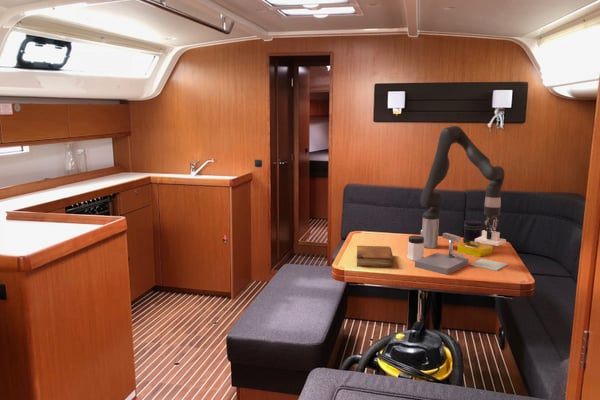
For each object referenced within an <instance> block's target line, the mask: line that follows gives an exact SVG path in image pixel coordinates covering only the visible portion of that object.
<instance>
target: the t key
mask: <svg viewBox="0 0 600 400" xmlns="http://www.w3.org/2000/svg"><path fill="white" fill-rule="evenodd" d="M442 238H443V239H444V240H445V239H446V240H448V254H447V255H449V256H452V255H453V256H457V257H461V258H465V254H464V255H463V254H462V253H459V252H455V251H454V248H453V247H454V242H455V243H458V242H459V243H460V242H461V236H458V235H456V234H451V233H448V232H442Z"/></svg>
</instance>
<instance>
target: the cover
mask: <svg viewBox="0 0 600 400" xmlns="http://www.w3.org/2000/svg"><path fill="white" fill-rule="evenodd" d="M500 235H501V231H495V232H494V231H492V235H491V239H487V232H486V231H485V229H484V230H481V235H480V237H478V238H476V239H475V242H479V243H482V244H487V245H491V246H496V247H499V246H501V245H503V244H505V243H507V239H505V238H500Z"/></svg>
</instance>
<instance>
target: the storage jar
mask: <svg viewBox="0 0 600 400" xmlns="http://www.w3.org/2000/svg"><path fill="white" fill-rule="evenodd" d="M463 222H464V223H463V239H462V241H463V242H462V243H466V242H469V241H474V242H475V239H476V238H478V237H481V233H482V221H481V220H479V219H478V220H477V219H465V220H464V221H463ZM477 243H479V242H477Z"/></svg>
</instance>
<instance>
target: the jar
mask: <svg viewBox="0 0 600 400" xmlns="http://www.w3.org/2000/svg"><path fill="white" fill-rule="evenodd" d="M424 257H425V247H424V237H422V236H421V235H410V236H408V241H407V256H406V258H407V259H408V260H409V261H414V262H415V261H417V260H419V259H422V258H424Z"/></svg>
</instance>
